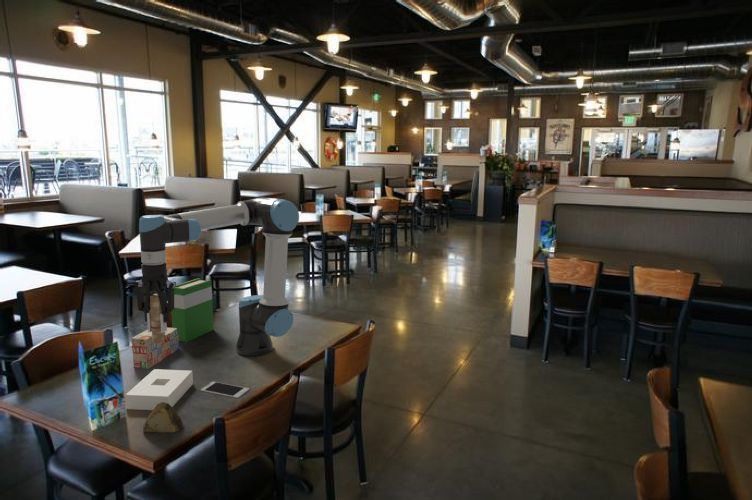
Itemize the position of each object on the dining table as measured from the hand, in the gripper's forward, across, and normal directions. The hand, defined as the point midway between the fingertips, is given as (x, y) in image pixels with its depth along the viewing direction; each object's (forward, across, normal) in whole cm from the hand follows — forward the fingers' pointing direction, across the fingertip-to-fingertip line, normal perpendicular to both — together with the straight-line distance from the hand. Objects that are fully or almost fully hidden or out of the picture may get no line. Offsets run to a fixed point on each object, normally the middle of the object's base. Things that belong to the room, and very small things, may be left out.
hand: (157, 331), depth 176 cm
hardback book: (+23, -12, +58) cm, 64 cm away
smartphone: (+24, +20, +6) cm, 32 cm away
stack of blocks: (+23, -16, +31) cm, 42 cm away
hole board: (+23, 0, 0) cm, 23 cm away
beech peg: (+4, 0, 0) cm, 4 cm away
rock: (+23, +11, -21) cm, 33 cm away
